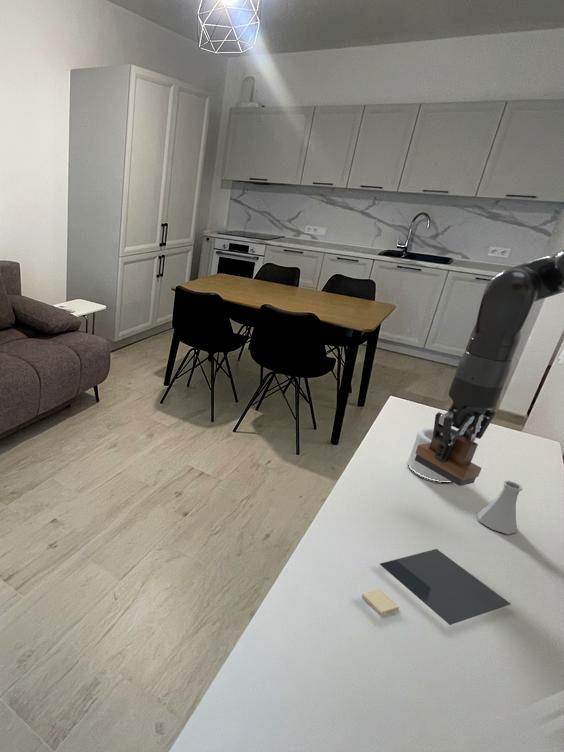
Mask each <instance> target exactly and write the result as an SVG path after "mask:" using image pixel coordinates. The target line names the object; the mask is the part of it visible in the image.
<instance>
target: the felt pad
mask: <svg viewBox="0 0 564 752" xmlns="http://www.w3.org/2000/svg"><path fill="white" fill-rule="evenodd" d="M361 598H362V599H363V600H364V601H365V602H366V603H368V604H369V605H370V606H371V607H372V608H373V609H374V610H375V611H376V613H378V614H379V615H381V616H382V615H384V614H388V613H392V612H395V611H398V610H399V609H400V606H399V605H398V604H397V603H396V602H395V601H393V599H391V598H390V596H388V595H387V594H386V593H385V592H384V591H383V590H382V589H380V588H378V589H375V590H372V591H368V592H364V593H362V594H361Z"/></svg>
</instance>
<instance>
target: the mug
mask: <svg viewBox="0 0 564 752" xmlns="http://www.w3.org/2000/svg"><path fill="white" fill-rule="evenodd" d="M433 431H434V428H432V427H431V428H429V427H426V428H421V429H419V430H418V431H417V433H416V435H415V440H414V443H413V446H412V449H411V452H410V455H409V457H408V459H407V463H408V464H409V465H410V466H411V468H412V469H414V470H415V471H416V472H418V473H420V474H421V475H424V476H426V477H428V478H431V479H435V480H439V481H450V480H448V479H446V478H444V477H443V476H441V475H439V474H437V473H436V472H434V471H432V470H431V469H429V468H427V467H425V466H424V465H422V464H420V463H419V462H417V461H415V457H416V455H417V454H415V453H416V450H417V447H418V445H421V444H427V443H431V441H432V438H433ZM411 472H412V473H413V474H415V476H416V475H417V474H416V473H414V472H413V471H411ZM417 476H418V477H420V478H422V479H425V480H427V481H430V482H433V483H434V482H435V481H431V480H428V479H426V478H423V477H421V476H419V475H417ZM435 483H436V482H435ZM437 484H442V483H441V482H437Z"/></svg>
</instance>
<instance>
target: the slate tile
mask: <svg viewBox="0 0 564 752" xmlns="http://www.w3.org/2000/svg"><path fill="white" fill-rule="evenodd" d="M379 565H380V566H381V567H382V568H383V569H384V570H385V571H387V572H388V573H389V574H390V575H391V576H393V577H394V578H395V579H396V580H397V581H398V582H399V583H401V585H403V586H404V587H405V588H406V589H407V590H408V591H410V592H411V593H412V594H413V595H415V597H417V598H418V599H419V600H420V601H422V602H423V603H424V604H425V605H426V606H427V607H428V608H429V609H431V610H432V611H433V612H434V613H435V614H436V615H438V617H440V618H441V619H442V620H443V621H444V622H445V623H447V624H448V625H449V626H451V625H453V624H457V623H460V622H463V621H465V620H469V619H472V618H474V617H477V616H480V615H482V614H486V613H489V612H493V611H494V610H499V609H501V608H504V607H506V606H510V605H511V602H509V601H508V600H507V599H505V598H504V597H503V596H501V595H500V594H498V593H497V592H496V591H494V590H493V589H492V588H491V587H489V586H488V585H487V584H485V583H484V582H482V581H481V580H479V579H478V578H477V577H475V576H474V575H473V574H472V573H470V572H469V571H467V570H466V569H465V568H463V567H462V566H461V565H459V564H458V563H457V562H455V561H454V560H452V559H451V558H449V556H447V555H446V554H444V553H443V551H440V550H439V549H438V548H434V549H431V550H430V549H429V550H426V551H423V552H419V553H416V554H411V555H409V556H403V557H399V558H396V559H392V560H388V561H384V562H381V563H379Z"/></svg>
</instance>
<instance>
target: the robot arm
mask: <svg viewBox="0 0 564 752" xmlns="http://www.w3.org/2000/svg"><path fill="white" fill-rule="evenodd" d="M562 293H564V249H562V250H560V251H557V252H556V253H554V254H550V255H547V256H543V257H540V258H537V259H534V260H531V261H527V262H524V263H521V264H518V265H514V266H512V267H510V268H507V269H504V270H502V271H500V272H498V273H497V274H495V275H493V277H492V278H490V279H489V281H488V282H487V284H486V286H485V289H484V292H483V294H482V297H481V301H480V305H479V308H478V312H477V317H476V323H475V324H474V327H473V329H472V331H471V334H470V336H469V339H468V342H467V344H466V348H465V350H464V353H463V354H462V356H461V359H460V360H459V362H458V365H457V368H456V371H455V373H454V376H453V378H452V382H451V385H450V388H449V390H448V397H449V398H450V399H451V400H452V404H451V405H450V406H449V408H448V410H447V412H444V413H442V412H439V411H438V412H437V413H435V418H434V425H433V429H434V431H433V439H435V440H437V441H439V445H438V448H437V451H436V454H435V458H436V459H437V460H439V461H441V462H443V463H444V462H447V461H448V459H449V456H450V454H451V451H452V448H453V445H454V443H455V442H456V440H457V438H458V437H461V436H463V437H465V438H467V439H469V440H471V441H473V442H476V439H482V437H483V436H484V434H485V432H486V431H487V429H488V427H489V426H490V424H491V422H492V420H493V419H494V417H495V415H496V411H495V410H492V409H494V408H496V407H497V404H498V402H499V400H500V397H501V394H502V392H503V389H504V388H505V387H504V386H505V384H506V382H507V380H508V377H509V374H510V371H511V366H512V363H513V360H514V357H515V355H516V351H517V349H518V347H519V344H520V341H521V337H522V330H523V327H524V325H525V323H526V321H527V320H528V319H527V318H528V317H529V314H530V311H531V309H532V308H533V305H534V303H536V302H539V301H541V300H545V299H547V298H550V297H553V296H556V295H559V294H562ZM452 427H453V428H452ZM454 428H456V429H454ZM440 432H441V434H440ZM450 433H452V434H453V435H452V437H451V438H450Z"/></svg>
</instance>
